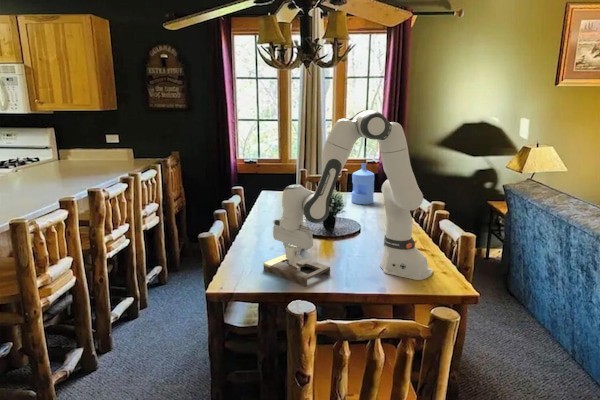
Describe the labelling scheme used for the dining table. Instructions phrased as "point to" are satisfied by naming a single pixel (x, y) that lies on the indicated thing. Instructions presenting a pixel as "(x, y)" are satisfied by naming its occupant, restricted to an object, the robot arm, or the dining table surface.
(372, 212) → the dining table surface
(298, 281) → the keyhole plate
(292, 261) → the keyed peg
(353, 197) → the water jug
